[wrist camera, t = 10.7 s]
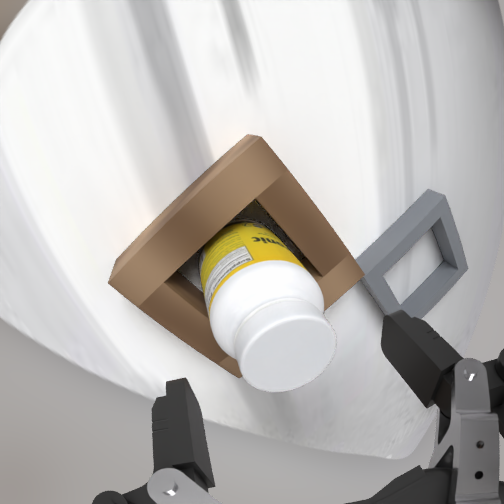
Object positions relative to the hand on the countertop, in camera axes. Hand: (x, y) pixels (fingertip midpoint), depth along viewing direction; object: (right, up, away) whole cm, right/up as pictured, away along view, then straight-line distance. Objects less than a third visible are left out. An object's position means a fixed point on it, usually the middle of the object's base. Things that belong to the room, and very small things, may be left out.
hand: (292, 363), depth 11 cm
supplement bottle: (-2, +4, +9) cm, 10 cm away
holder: (+12, +3, +13) cm, 18 cm away
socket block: (-2, +4, +9) cm, 10 cm away
